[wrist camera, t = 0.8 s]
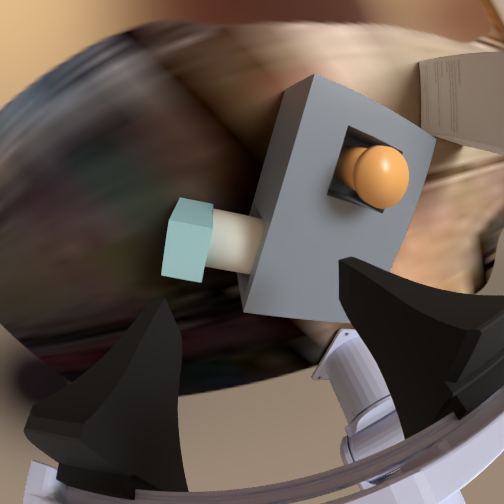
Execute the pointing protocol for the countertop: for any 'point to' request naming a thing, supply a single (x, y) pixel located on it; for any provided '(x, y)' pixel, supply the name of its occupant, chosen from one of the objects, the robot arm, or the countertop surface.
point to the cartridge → (209, 241)
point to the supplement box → (464, 99)
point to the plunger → (373, 174)
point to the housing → (325, 200)
